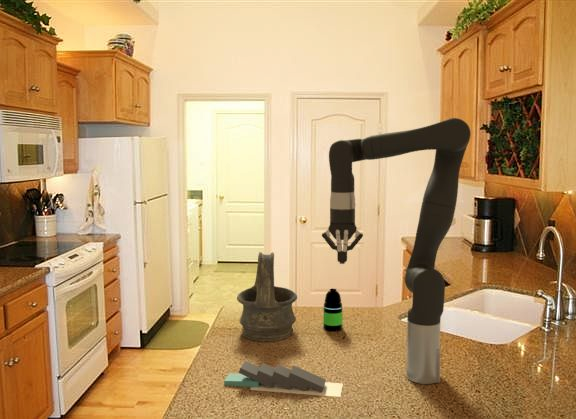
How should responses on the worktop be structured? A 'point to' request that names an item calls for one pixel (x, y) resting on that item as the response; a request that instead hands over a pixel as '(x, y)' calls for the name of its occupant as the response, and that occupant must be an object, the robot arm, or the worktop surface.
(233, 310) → the worktop surface
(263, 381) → the domino
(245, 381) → the domino
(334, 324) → the bottle
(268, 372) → the domino
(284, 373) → the domino
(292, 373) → the domino
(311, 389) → the strip
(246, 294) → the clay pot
